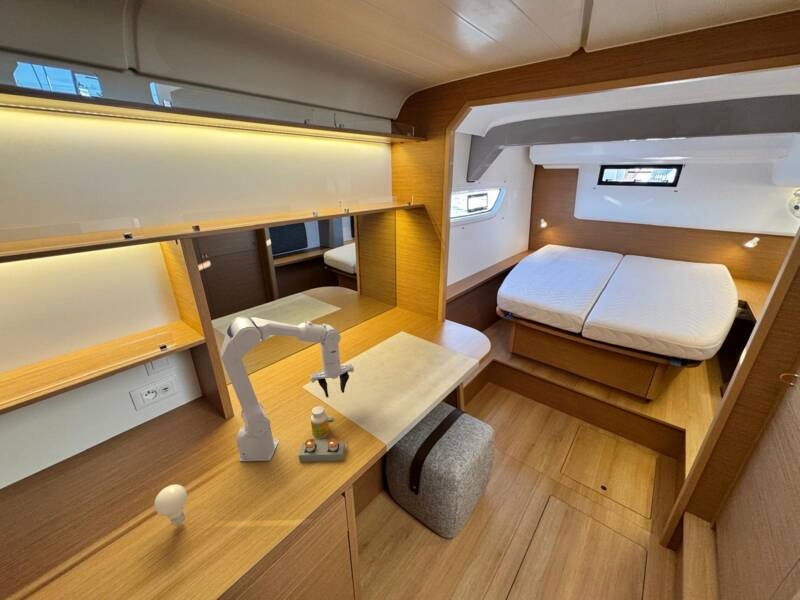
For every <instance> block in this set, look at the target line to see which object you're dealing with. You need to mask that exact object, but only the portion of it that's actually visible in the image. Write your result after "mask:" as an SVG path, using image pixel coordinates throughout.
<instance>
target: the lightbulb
mask: <svg viewBox="0 0 800 600" xmlns="http://www.w3.org/2000/svg"><path fill="white" fill-rule="evenodd" d="M187 494H188V493H187V490H186V488H185V487H184V486H182V485H181V484H178V483H177V484H176V483H175V484H170V485H168V486H165V487H164V488H162V489H161V490H160V491H159V493H158V494H157V495H156V497H155V499H154V503H153V507H154V510H155V512H156V513H157V514H159V516H164V517H167V518H168V519H169V520H170V522H171V524H172V526H174V527H176V526H179V525H181V524H182V523H184V521H185V519H186V516H185V513H184V505H185V504H186V501H187V499H188V498H187V496H188V495H187Z"/></svg>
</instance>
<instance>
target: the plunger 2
mask: <svg viewBox="0 0 800 600" xmlns="http://www.w3.org/2000/svg"><path fill="white" fill-rule="evenodd" d="M327 442H328V446H329V451H330V452H338V442H339V440H338V439H337V438H333V437H332V438H330V439H329V440H327Z"/></svg>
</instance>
